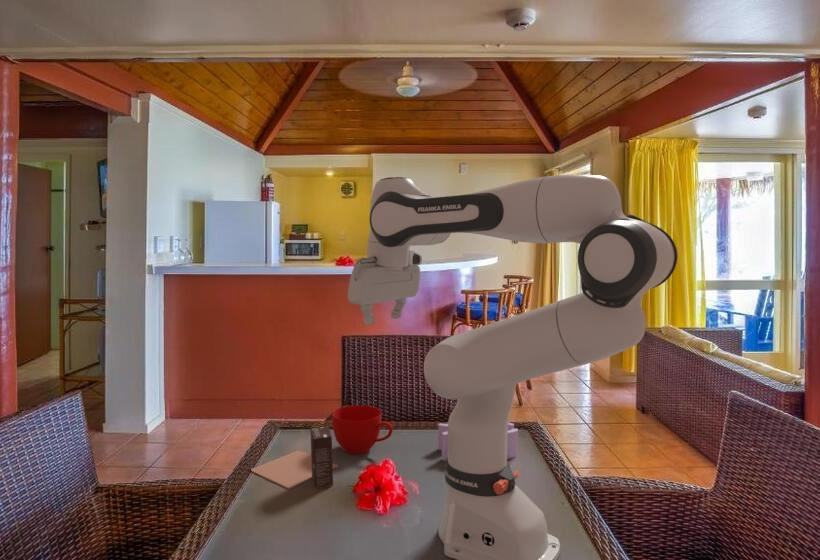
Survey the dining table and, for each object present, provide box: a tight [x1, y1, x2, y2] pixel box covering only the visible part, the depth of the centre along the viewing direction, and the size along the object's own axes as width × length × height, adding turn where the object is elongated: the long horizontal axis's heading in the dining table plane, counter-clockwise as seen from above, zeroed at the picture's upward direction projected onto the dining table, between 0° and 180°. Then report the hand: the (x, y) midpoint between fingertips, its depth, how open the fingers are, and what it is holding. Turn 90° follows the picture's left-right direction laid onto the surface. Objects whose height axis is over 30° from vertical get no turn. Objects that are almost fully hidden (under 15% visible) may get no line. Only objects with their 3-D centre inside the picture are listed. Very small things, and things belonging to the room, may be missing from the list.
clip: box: [437, 421, 519, 461], centre depth 138 cm, size 20×12×7 cm, turn 95°
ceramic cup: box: [331, 404, 394, 455], centre depth 139 cm, size 13×17×10 cm
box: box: [310, 425, 334, 489], centre depth 121 cm, size 6×4×12 cm
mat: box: [250, 450, 339, 490], centre depth 129 cm, size 15×15×1 cm
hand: (382, 320), depth 113 cm, fingers open, 8 cm apart
